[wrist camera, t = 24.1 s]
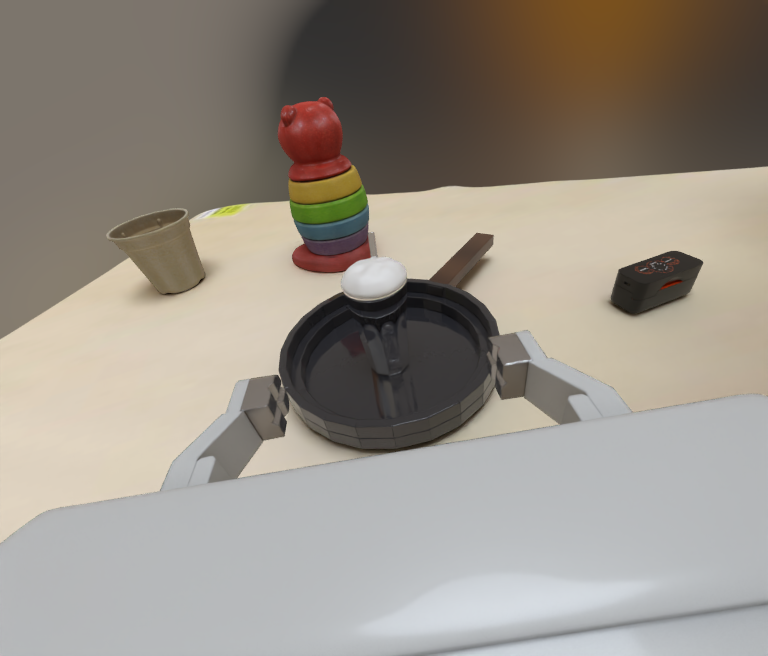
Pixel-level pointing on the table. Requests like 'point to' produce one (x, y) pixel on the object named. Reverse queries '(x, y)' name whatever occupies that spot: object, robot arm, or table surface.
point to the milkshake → (379, 309)
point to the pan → (396, 392)
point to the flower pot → (161, 249)
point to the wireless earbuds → (655, 281)
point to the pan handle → (461, 262)
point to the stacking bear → (323, 189)
